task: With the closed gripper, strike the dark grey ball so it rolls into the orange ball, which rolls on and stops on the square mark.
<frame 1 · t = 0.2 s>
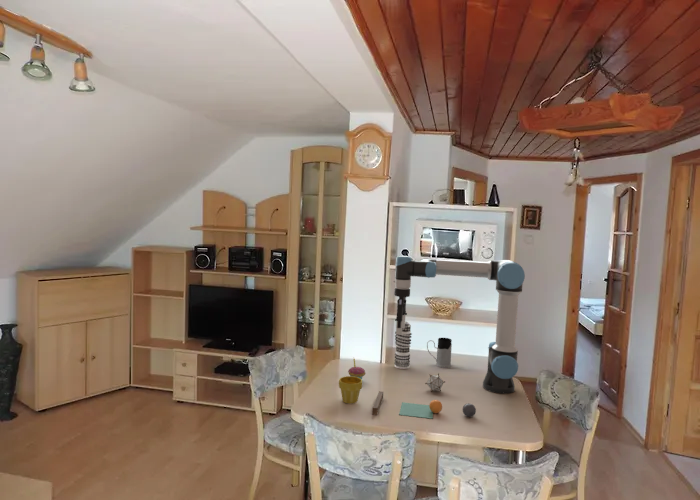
hand: (400, 331, 238), 28 cm above the table, tool pointing down, fingers open, 13 cm apart
grey spiky polyhedron: (434, 391, 237), on the table
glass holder: (438, 365, 279), on the table
cupcake: (356, 381, 247), on the table
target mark: (416, 410, 212), on the table
plant pot: (349, 401, 220), on the table
decorative candle: (401, 366, 273), on the table
dark grey ball: (469, 410, 208), on the table
walnut stopper: (377, 405, 215), on the table
orange ball: (435, 406, 210), on the table
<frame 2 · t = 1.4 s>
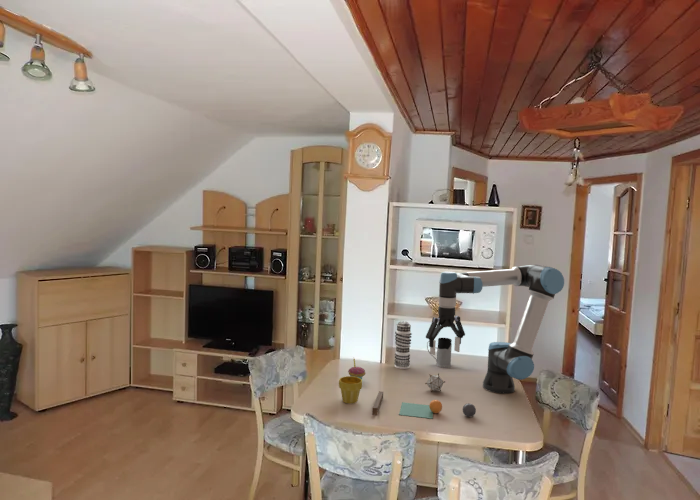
hand: (444, 352, 221), 23 cm above the table, tool pointing down, fingers open, 13 cm apart
nothing on the table moved.
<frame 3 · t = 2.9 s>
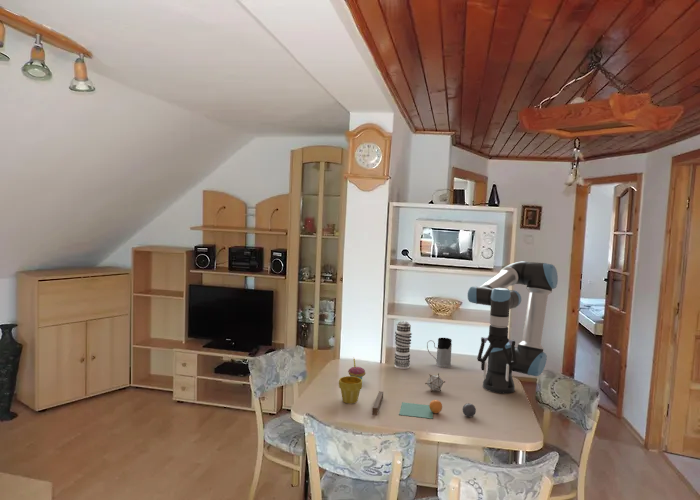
hand: (495, 379, 205), 17 cm above the table, tool pointing down, fingers open, 8 cm apart
nothing on the table moved.
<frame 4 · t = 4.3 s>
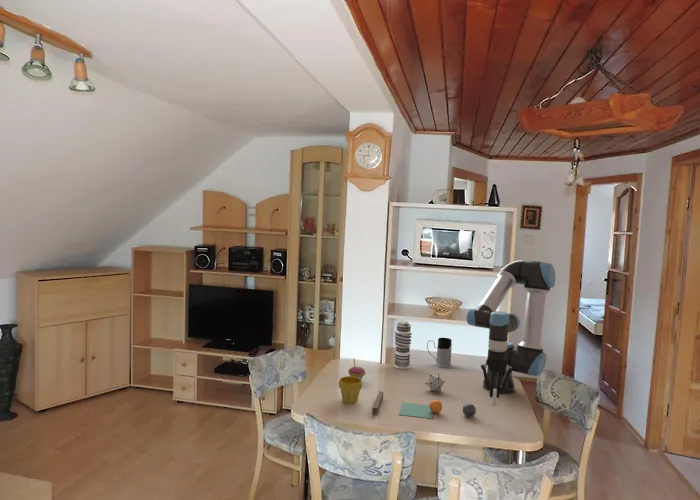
hand: (493, 404, 205), 6 cm above the table, tool pointing down, fingers closed
nothing on the table moved.
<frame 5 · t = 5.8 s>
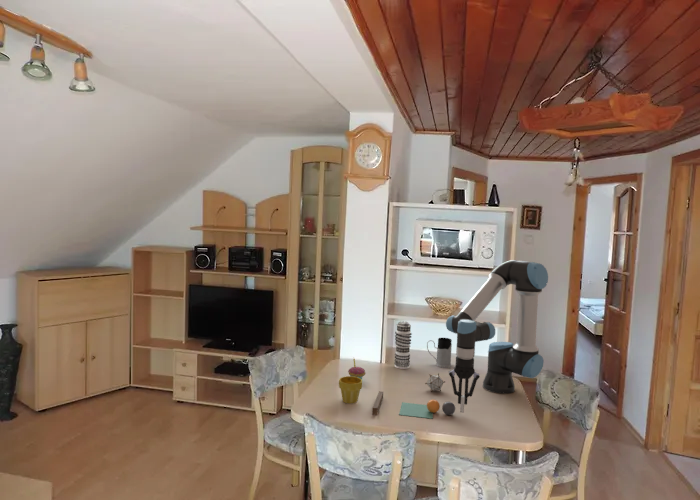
hand: (461, 411, 208), 2 cm above the table, tool pointing down, fingers closed
dark grey ball: (448, 408, 209), on the table
orange ball: (433, 406, 211), on the table
everything else where it was.
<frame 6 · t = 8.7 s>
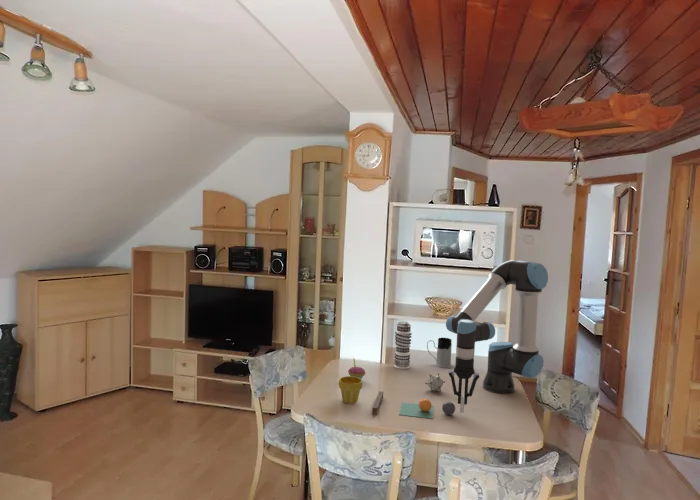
hand: (461, 411, 208), 2 cm above the table, tool pointing down, fingers closed
orange ball: (425, 405, 211), on the table
everything else where it was.
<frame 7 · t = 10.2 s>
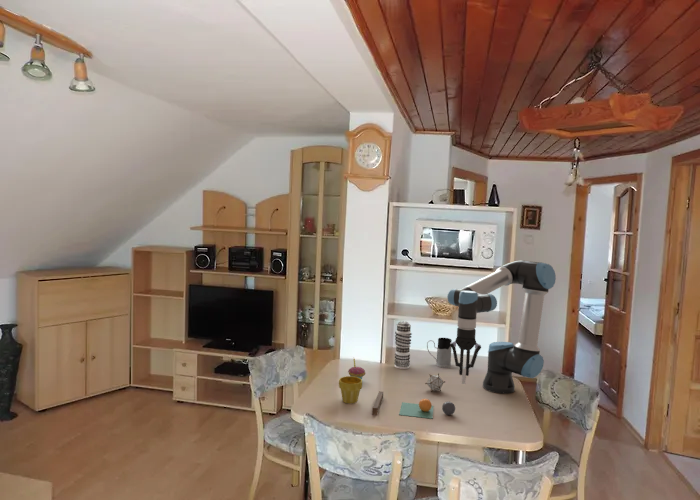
hand: (463, 382, 207), 14 cm above the table, tool pointing down, fingers closed
nothing on the table moved.
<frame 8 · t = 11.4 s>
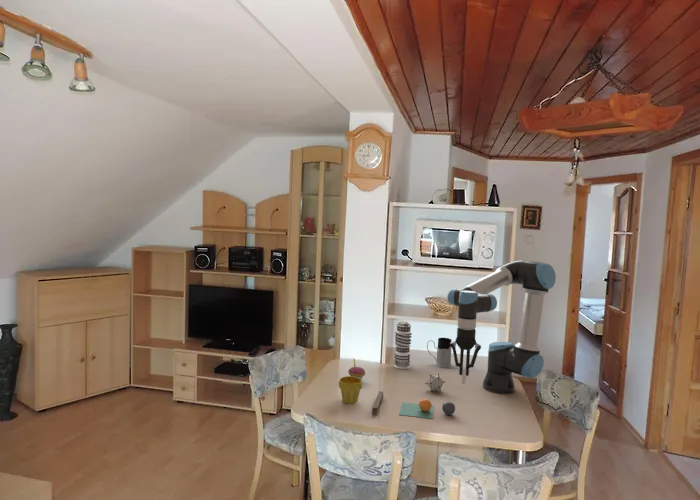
hand: (463, 382, 207), 14 cm above the table, tool pointing down, fingers closed
nothing on the table moved.
at the end: orange ball 3.5 cm from the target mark (horizontally); orange ball never touched the robot; dark grey ball first touched orange ball at 5.7 s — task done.
